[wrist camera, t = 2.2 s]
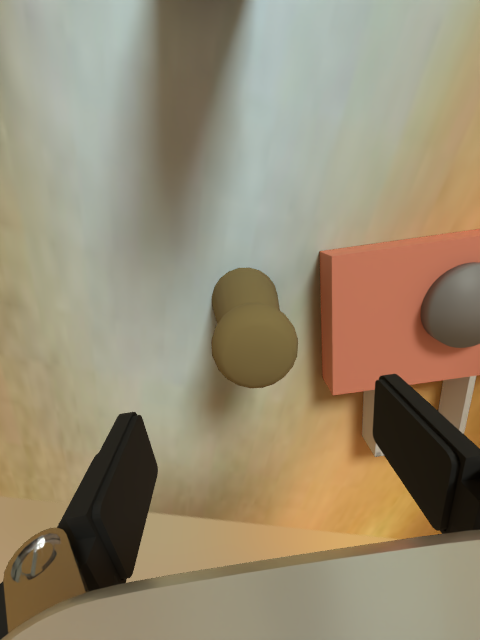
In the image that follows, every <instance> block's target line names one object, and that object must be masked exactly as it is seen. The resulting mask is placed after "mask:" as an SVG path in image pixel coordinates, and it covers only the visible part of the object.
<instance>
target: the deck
mask: <svg viewBox="0 0 480 640" xmlns="http://www.w3.org/2000/svg"><path fill="white" fill-rule="evenodd" d="M320 292H321V333H322V375H323V379H324V381H325V383H326V384H327V386H328V388H329V390H330V391H331V393H332V395H339V394H347V393H354V392H361V391H364V395H363V420H362V437H363V438H364V440H365V441H366V443H367V445H368V446H369V448H370V450H371V451H372V453H373V455H374V456H375V457H377V456H384V454H383V453H382V451H381V450H380V448H379V447H378V445H377V444H376V442H375V440H374V438H373V414H374V395H375V382H376V380H379V377H380V376H382V375H389V374H397V375H399V376H400V377H401V378H402V379H403V380H404V381H405V382H406V383H407V384H409V385H412V384H419V383H426V382H434V381H441V380H443V385H442V391H441V397H440V403H439V409H438V412H439V413H441V414H442V415H443V416H444V417H445V418H446V419H447V420H448V421H449V422H451V423H452V424H453V425H454V426H455V427H456V428H457V429H458V430H459V431H460V432H462V433H463V434H464V431H465V427H466V422H467V417H468V413H469V408H470V403H471V399H472V394H473V389H474V385H475V380H476V376H477V375H480V229H476V230H469V231H462V232H455V233H447V234H440V235H433V236H426V237H419V238H411V239H404V240H397V241H390V242H383V243H376V244H368V245H361V246H354V247H347V248H340V249H333V250H325V251H320Z"/></svg>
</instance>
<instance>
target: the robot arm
mask: <svg viewBox="0 0 480 640" xmlns="http://www.w3.org/2000/svg"><path fill="white" fill-rule="evenodd" d="M373 438H374V440H375V442H376V444H377V445H378V447H379V448H380V450H381V451H382V453H383V454H384V456H385V457H386V459H387V460H388V462H389V463H390V465H391V466H392V468H393V469H394V471H395V472H396V474H397V475H398V477H399V478H400V479H401V481H402V482H403V484H404V485H405V487H406V488H407V490H408V491H409V493H410V494H411V496H412V497H413V499H414V500H415V502H416V503H417V505H418V506H419V508H420V509H421V511H422V512H423V513H424V515H425V516H426V518H427V519H428V521H429V522H430V524H431V525H432V527H433V528H434V529H435V530H437V531H438V530H440V531H441V533H442V534H438V535H430V536H422V537H415V538H408V539H401V540H394V541H388V542H381V543H375V544H368V545H360V546H354V547H347V548H340V549H334V550H327V551H320V552H314V553H308V554H301V555H294V556H288V557H281V558H275V559H268V560H262V561H256V562H249V563H242V564H236V565H230V566H224V567H217V568H211V569H205V570H199V571H192V572H187V573H180V574H174V575H168V576H162V577H156V578H151V579H145V580H140V581H134V582H129V583H126V579H127V578H130V577H131V576H132V574H133V570H134V566H135V562H136V558H137V554H138V550H139V546H140V542H141V538H142V534H143V530H144V526H145V522H146V518H147V514H148V510H149V506H150V502H151V498H152V494H153V490H154V486H155V482H156V478H157V473H158V467H157V463H156V460H155V457H154V454H153V450H152V447H151V444H150V441H149V438H148V435H147V432H146V428H145V425H144V422H143V419H142V416H141V415H137V414H136V412H130V413H123V414H120V415H119V416H118V417H117V419H116V421H115V423H114V425H113V427H112V429H111V431H110V433H109V434H108V436H107V438H106V440H105V442H104V444H103V446H102V448H101V450H100V452H99V453H98V454H97V455H96V456H95V457H94V459H93V461H92V463H91V464H90V466H89V468H88V470H87V472H86V474H85V476H84V478H83V480H82V481H81V483H80V485H79V487H78V489H77V491H76V493H75V495H74V497H73V498H72V500H71V502H70V504H69V506H68V508H67V510H66V512H65V514H64V516H63V517H62V520H61V521H60V523H59V525H58V527H57V528H49V529H46V530H44V531H41V532H40V533H38V534H36V535H34V536H33V537H31V538H30V539H29V540H28V541H26V542H25V543H24V544H23V545H22V546H21V547H20V548H19V549H18V550H17V551H16V552H15V554H14V555H13V557H12V558H11V560H10V561H9V562H8V565H7V567H6V570H5V572H4V579H3V582H2V583H1V584H0V640H480V449H479V448H478V447H477V446H476V445H475V444H474V443H473V442H472V441H470V440H469V439H468V438H467V437H466V436H465V435H464V434H463V433H462V432H460V431H459V430H458V429H457V428H456V427H455V426H454V425H453V424H452V423H451V422H449V421H448V420H447V419H446V418H445V417H444V416H443V415H442V414H441V413H439V412H438V411H437V410H436V409H435V408H434V407H433V406H432V405H431V404H430V403H428V402H427V401H426V400H425V399H424V398H423V397H422V396H421V395H420V394H419V393H417V392H416V391H415V390H414V389H413V388H412V387H411V386H410V385H409V384H407V383H406V382H405V381H404V380H403V379H402V378H401V377H400V376H399V375H397V374H389V375H382V376H380V377H379V380H376V382H375V395H374V414H373Z"/></svg>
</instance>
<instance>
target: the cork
mask: <svg viewBox="0 0 480 640" xmlns="http://www.w3.org/2000/svg"><path fill="white" fill-rule="evenodd" d="M212 306H213V310H214V314H215V317H216V321H217V326H216V327H215V330H214V334H213V337H212V343H211V344H212V356H213V358H214V360H215V363H216V365H217V367H218V369H219V371H220V372H221V373H222V374H223V375H224V376H225V377H226V378H227V379H228V380H230V381H232V382H234V383H235V384H237V385H239V386H244V387H248V388H263V387H266V386H269V385H272V384H274V383H276V382H277V381H279V380H280V379H282V378H283V377H284V376H285V375H286V374H287V373H288V372H289V370H290V369H291V368H292V367H293V365H294V362H295V360H296V357H297V350H298V338H297V335H296V332H295V328H294V326H293V325H292V323H291V322H290V321H289V319H288V318H287V317H286V315H285V314H284V313H282V312H281V311H280V309H279V303H278V296H277V292H276V289H275V286H274V284H273V282H272V281H271V280H270V278H269V277H268V276H267V275H265V274H264V273H262V272H261V271H259V270H256V269H252V268H238V269H235V270H232V271H229V272H228V273H226V274H225V275H224V276H223V277H221V278H220V280H219V281H218V282H217V284H216V285H215V287H214V291H213V294H212Z"/></svg>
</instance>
